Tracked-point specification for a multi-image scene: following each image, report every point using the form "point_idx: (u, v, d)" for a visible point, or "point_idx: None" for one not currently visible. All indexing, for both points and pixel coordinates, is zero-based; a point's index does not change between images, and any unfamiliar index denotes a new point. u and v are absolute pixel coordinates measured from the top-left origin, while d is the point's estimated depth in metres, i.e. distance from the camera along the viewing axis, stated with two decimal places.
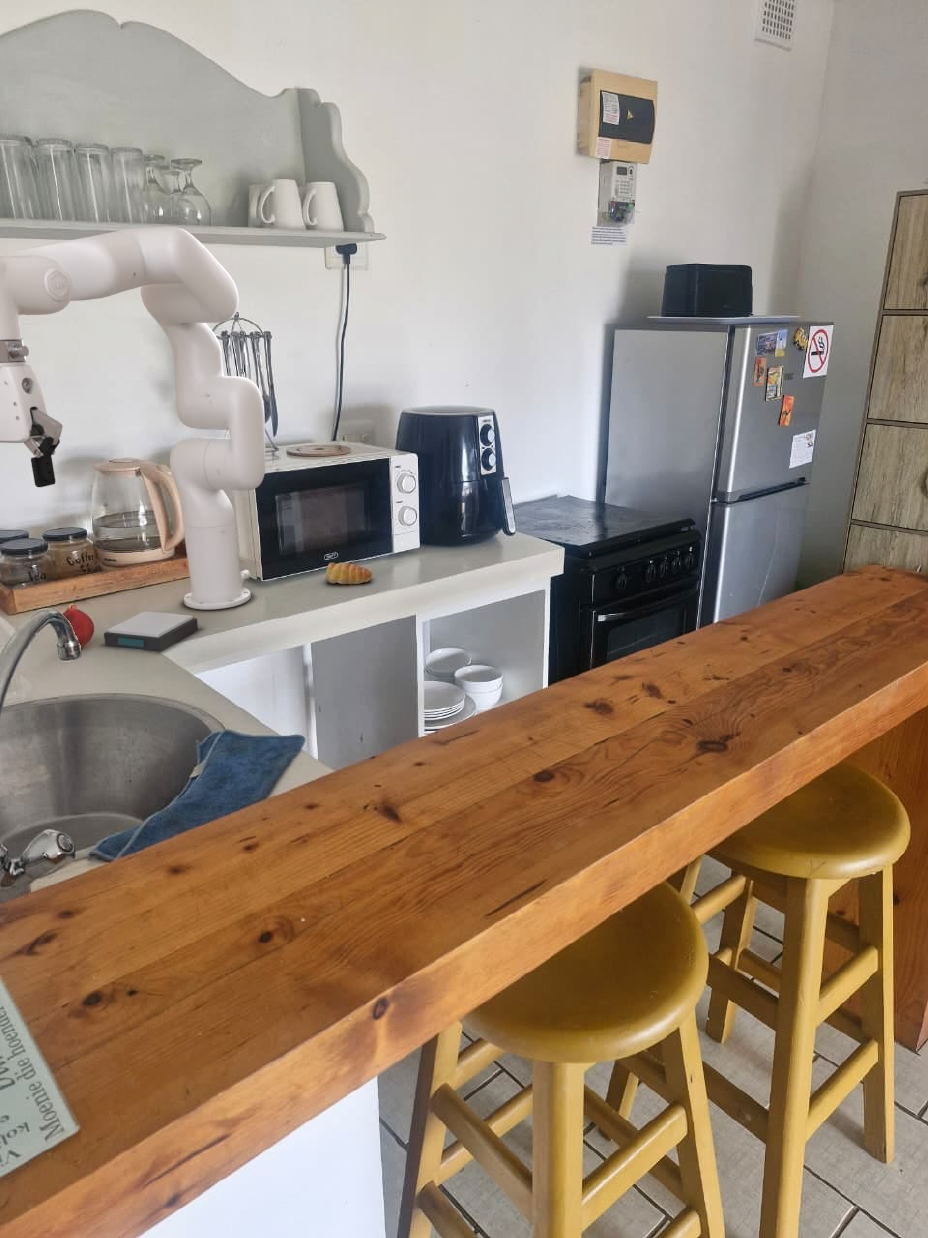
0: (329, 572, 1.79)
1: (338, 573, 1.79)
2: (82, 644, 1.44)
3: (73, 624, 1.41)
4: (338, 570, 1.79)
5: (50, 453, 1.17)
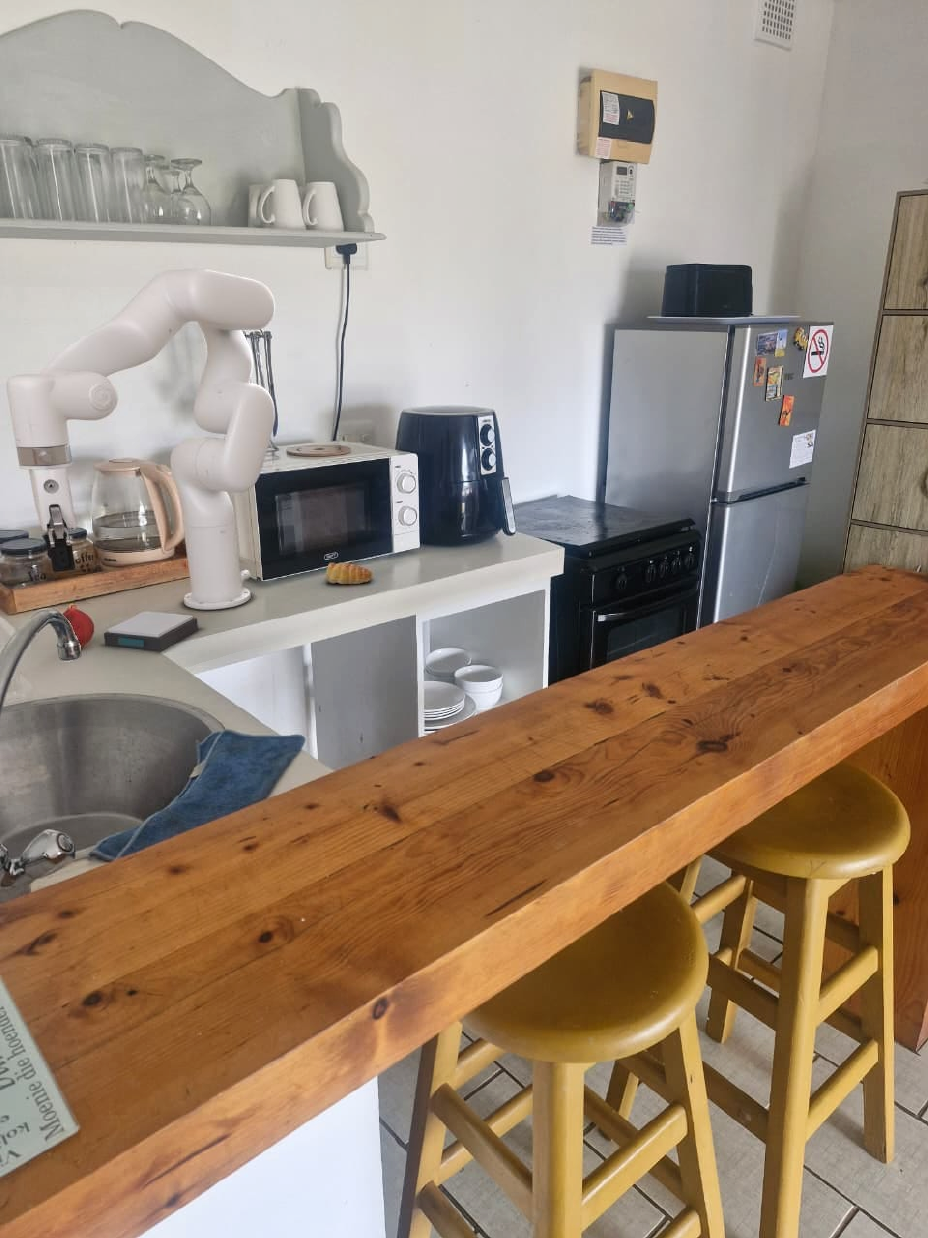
0: (329, 572, 1.79)
1: (338, 573, 1.79)
2: (82, 644, 1.44)
3: (73, 624, 1.41)
4: (338, 570, 1.79)
5: (63, 544, 1.34)
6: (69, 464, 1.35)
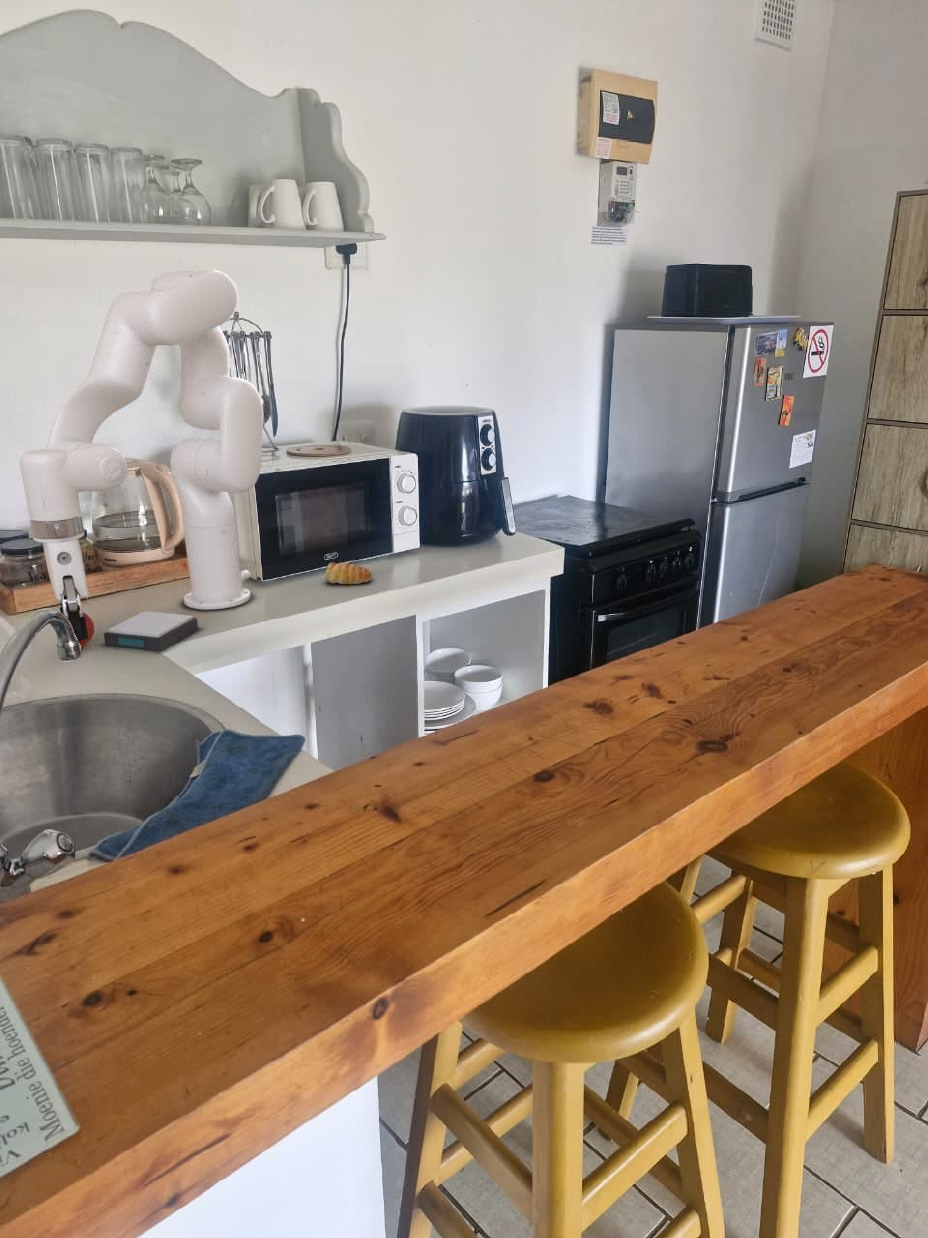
0: (329, 572, 1.79)
1: (338, 573, 1.79)
2: (82, 644, 1.44)
3: None
4: (338, 570, 1.79)
5: (77, 617, 1.39)
6: (81, 535, 1.39)
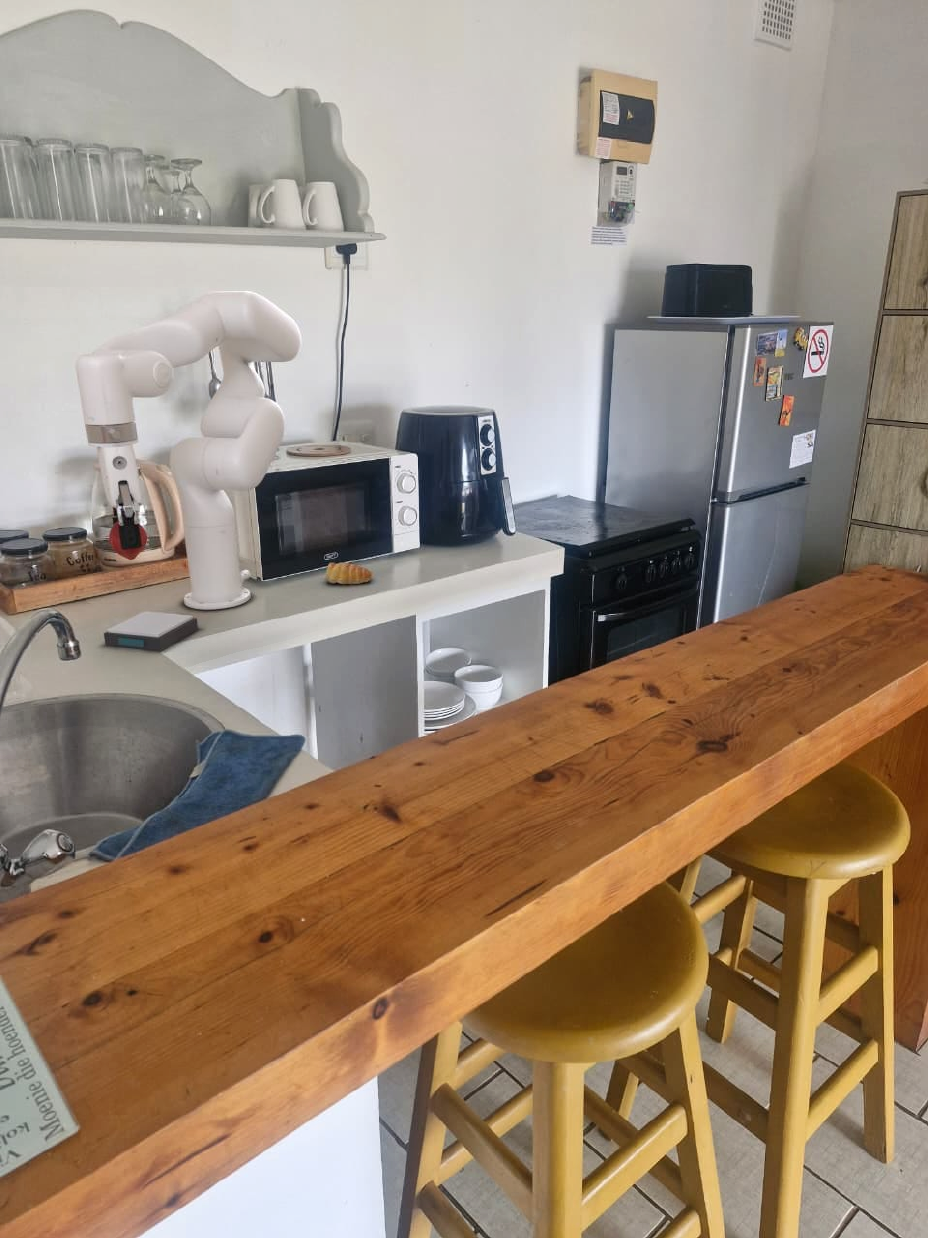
0: (329, 572, 1.79)
1: (338, 573, 1.79)
2: (135, 553, 1.44)
3: None
4: (338, 570, 1.79)
5: (131, 524, 1.40)
6: (135, 441, 1.39)
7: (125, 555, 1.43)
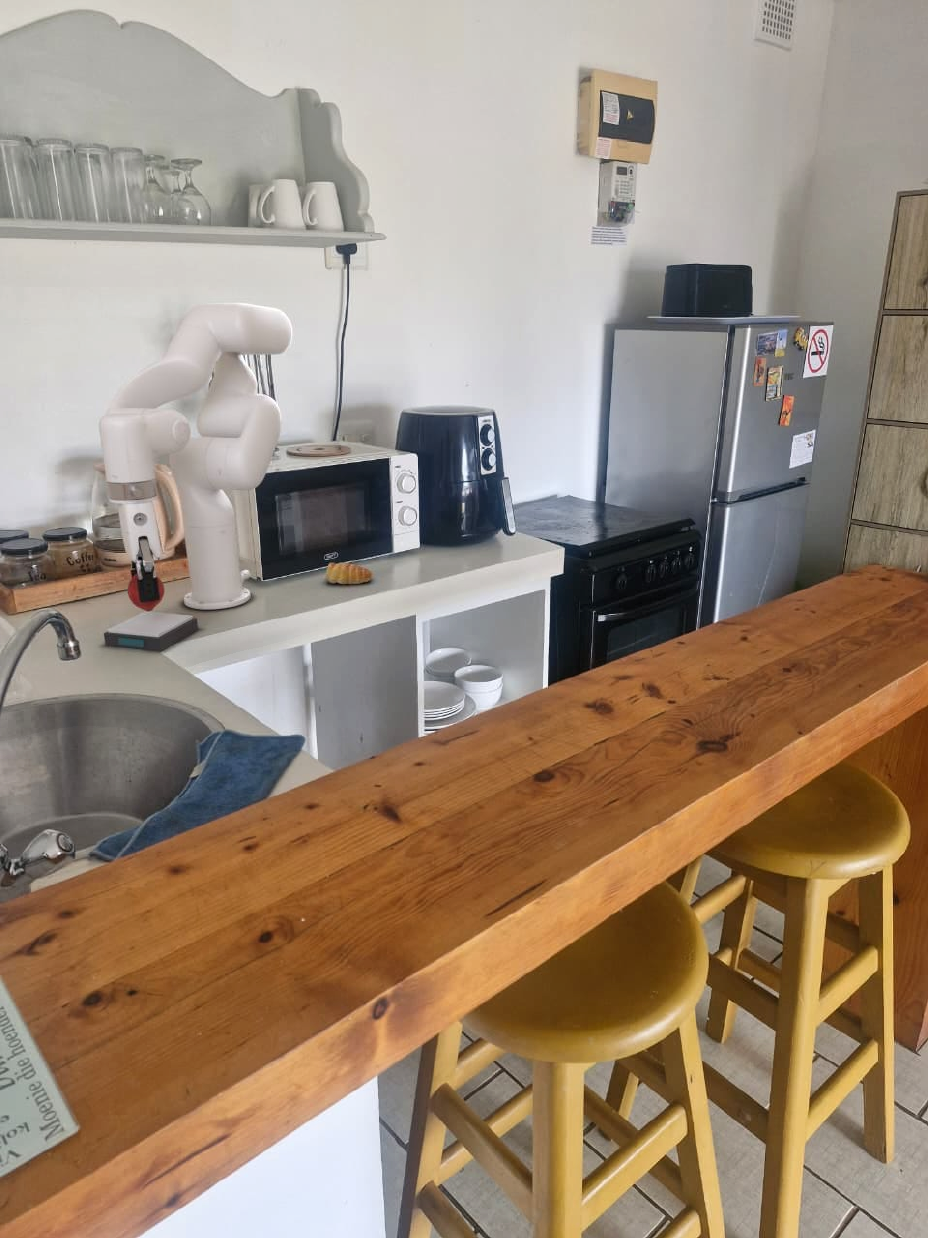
0: (329, 572, 1.79)
1: (338, 573, 1.79)
2: (153, 605, 1.47)
3: None
4: (338, 570, 1.79)
5: (150, 578, 1.43)
6: (155, 497, 1.42)
7: (143, 607, 1.47)
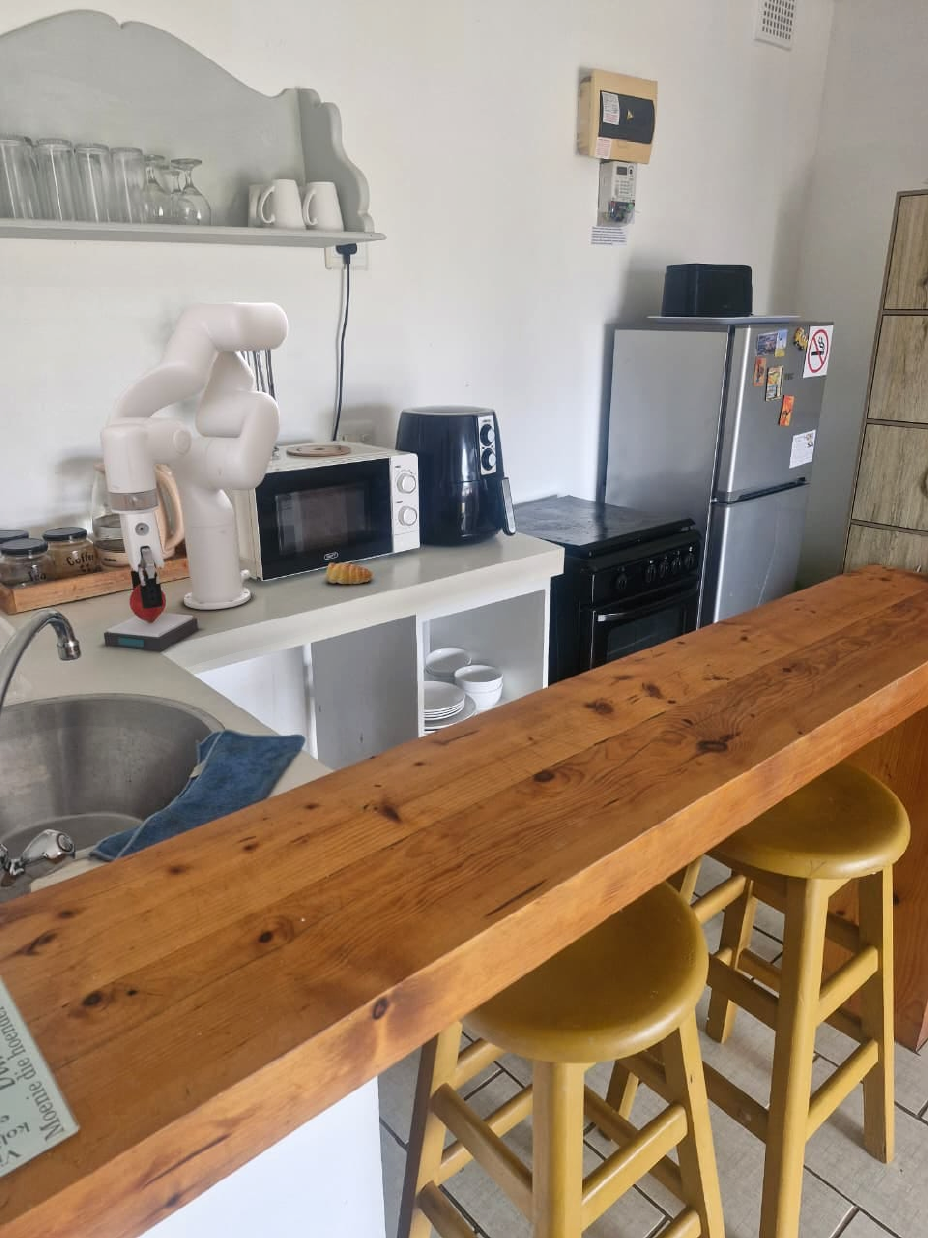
0: (329, 572, 1.79)
1: (338, 573, 1.79)
2: (155, 616, 1.48)
3: None
4: (338, 570, 1.79)
5: (153, 583, 1.42)
6: (157, 507, 1.43)
7: (145, 618, 1.48)
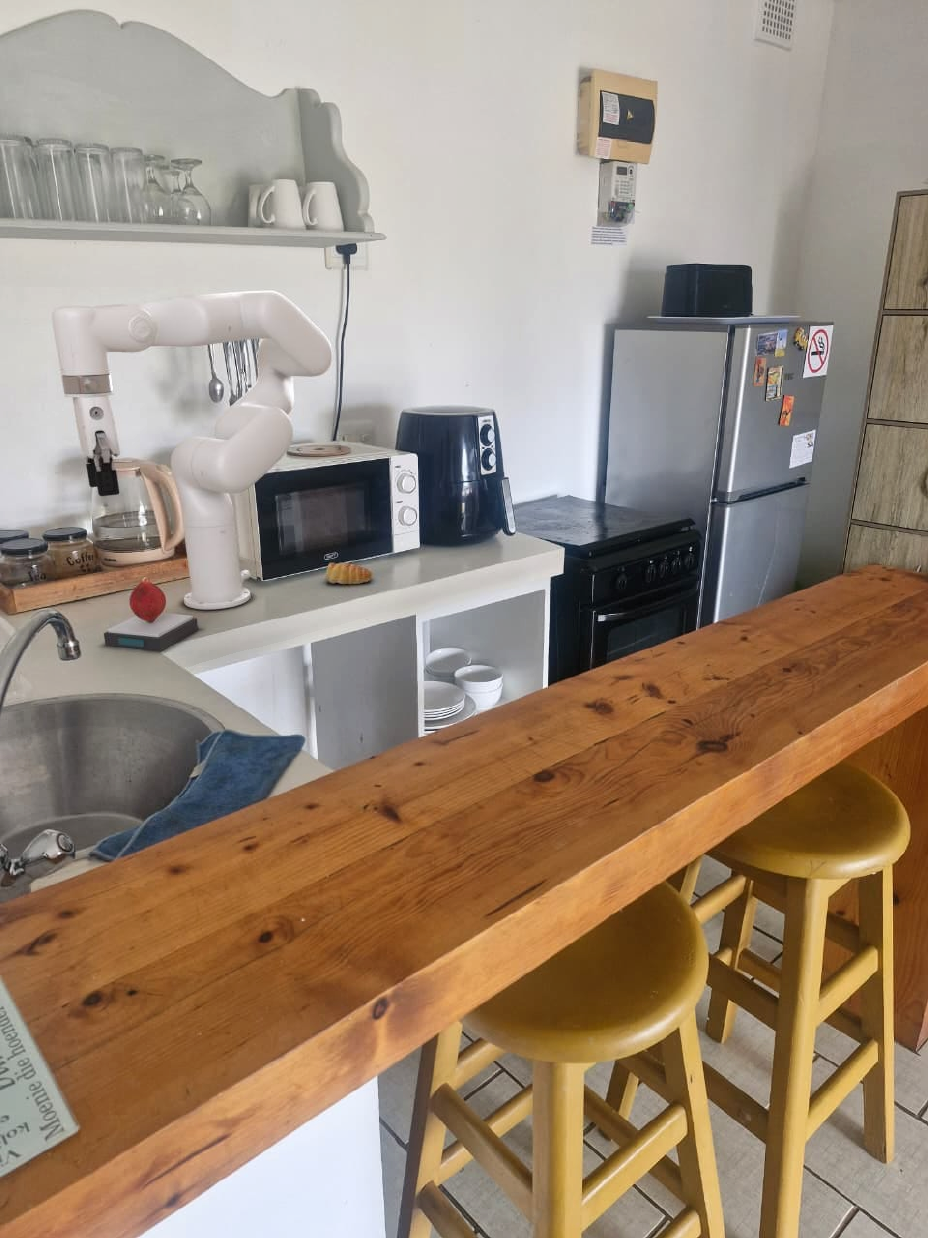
0: (329, 572, 1.79)
1: (338, 573, 1.79)
2: (155, 616, 1.48)
3: (147, 596, 1.46)
4: (338, 570, 1.79)
5: (109, 469, 1.41)
6: (111, 393, 1.42)
7: (145, 618, 1.48)
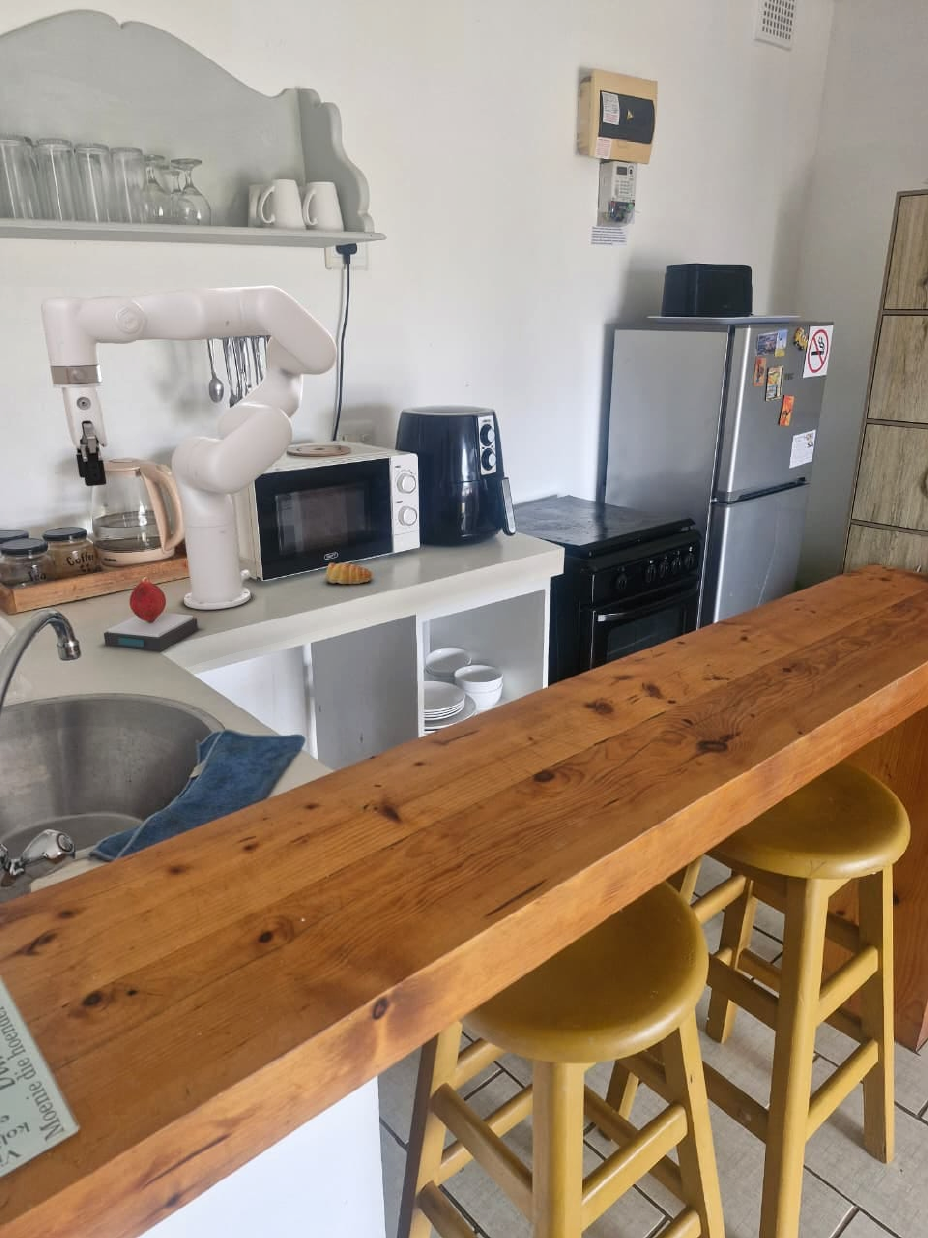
0: (329, 572, 1.79)
1: (338, 573, 1.79)
2: (155, 616, 1.48)
3: (147, 596, 1.46)
4: (338, 570, 1.79)
5: (95, 459, 1.42)
6: (100, 384, 1.43)
7: (145, 618, 1.48)
